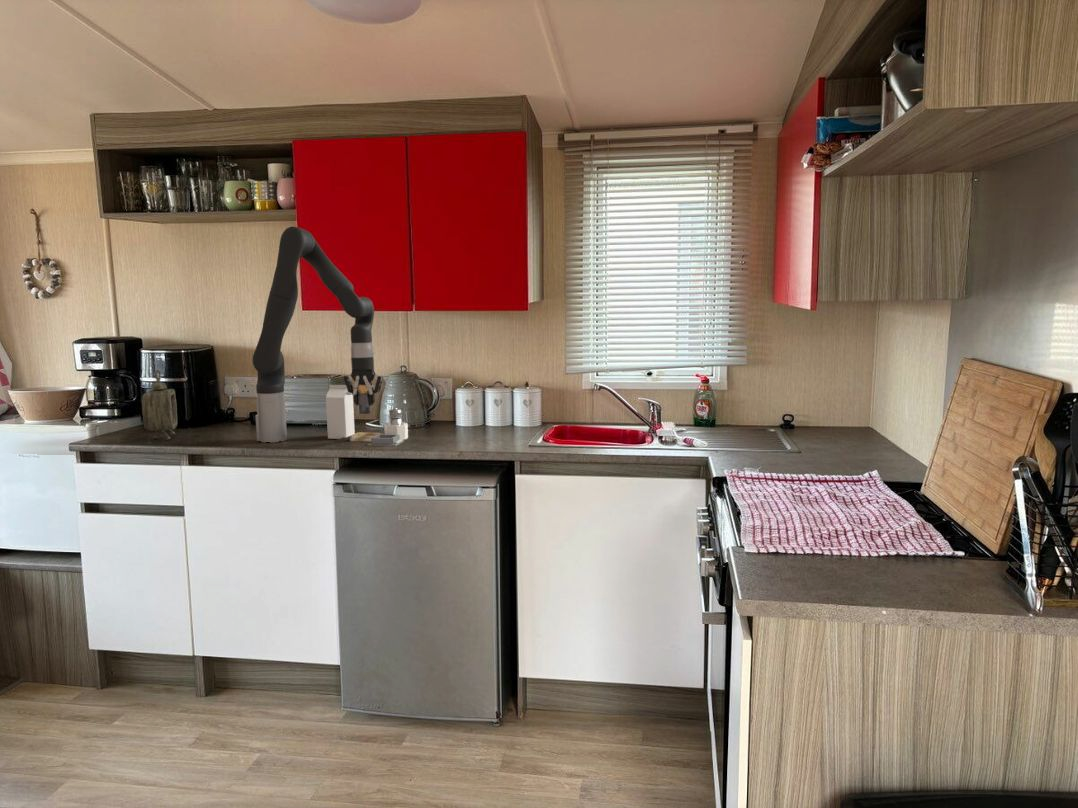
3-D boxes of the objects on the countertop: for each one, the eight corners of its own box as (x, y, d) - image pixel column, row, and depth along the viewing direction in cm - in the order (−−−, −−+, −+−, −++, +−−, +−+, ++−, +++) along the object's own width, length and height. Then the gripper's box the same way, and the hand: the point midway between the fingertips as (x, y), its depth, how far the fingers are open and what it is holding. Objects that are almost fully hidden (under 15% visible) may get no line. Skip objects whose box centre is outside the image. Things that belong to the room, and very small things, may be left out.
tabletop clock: (172, 441, 278) (166, 371, 274) (144, 443, 275) (138, 372, 272) (178, 434, 292) (173, 367, 288) (152, 436, 289) (146, 368, 286)
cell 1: (356, 413, 270) (355, 383, 268) (361, 411, 274) (359, 381, 272) (368, 413, 269) (367, 383, 267) (373, 411, 273) (371, 381, 272)
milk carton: (346, 439, 277) (343, 386, 274) (327, 439, 279) (324, 386, 276) (354, 435, 284) (352, 383, 281) (336, 435, 285) (334, 383, 283)
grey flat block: (366, 447, 261) (366, 438, 261) (376, 442, 270) (376, 433, 270) (395, 448, 260) (395, 439, 259) (404, 443, 268) (404, 434, 268)
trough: (349, 443, 270) (349, 436, 270) (357, 439, 277) (357, 432, 276) (374, 443, 269) (374, 436, 268) (382, 439, 275) (381, 432, 275)
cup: (382, 442, 271) (382, 425, 270) (390, 438, 278) (389, 422, 277) (403, 442, 270) (402, 426, 269) (410, 438, 277) (409, 422, 276)
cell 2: (388, 439, 272) (387, 409, 271) (392, 436, 276) (391, 407, 275) (400, 439, 271) (399, 409, 270) (404, 437, 276) (403, 407, 274)
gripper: (338, 356, 266) (340, 406, 268) (378, 356, 264) (380, 406, 266) (346, 355, 273) (349, 403, 276) (385, 354, 271) (388, 403, 274)
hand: (364, 404), depth 271 cm, fingers closed on cell 1, 4 cm apart
